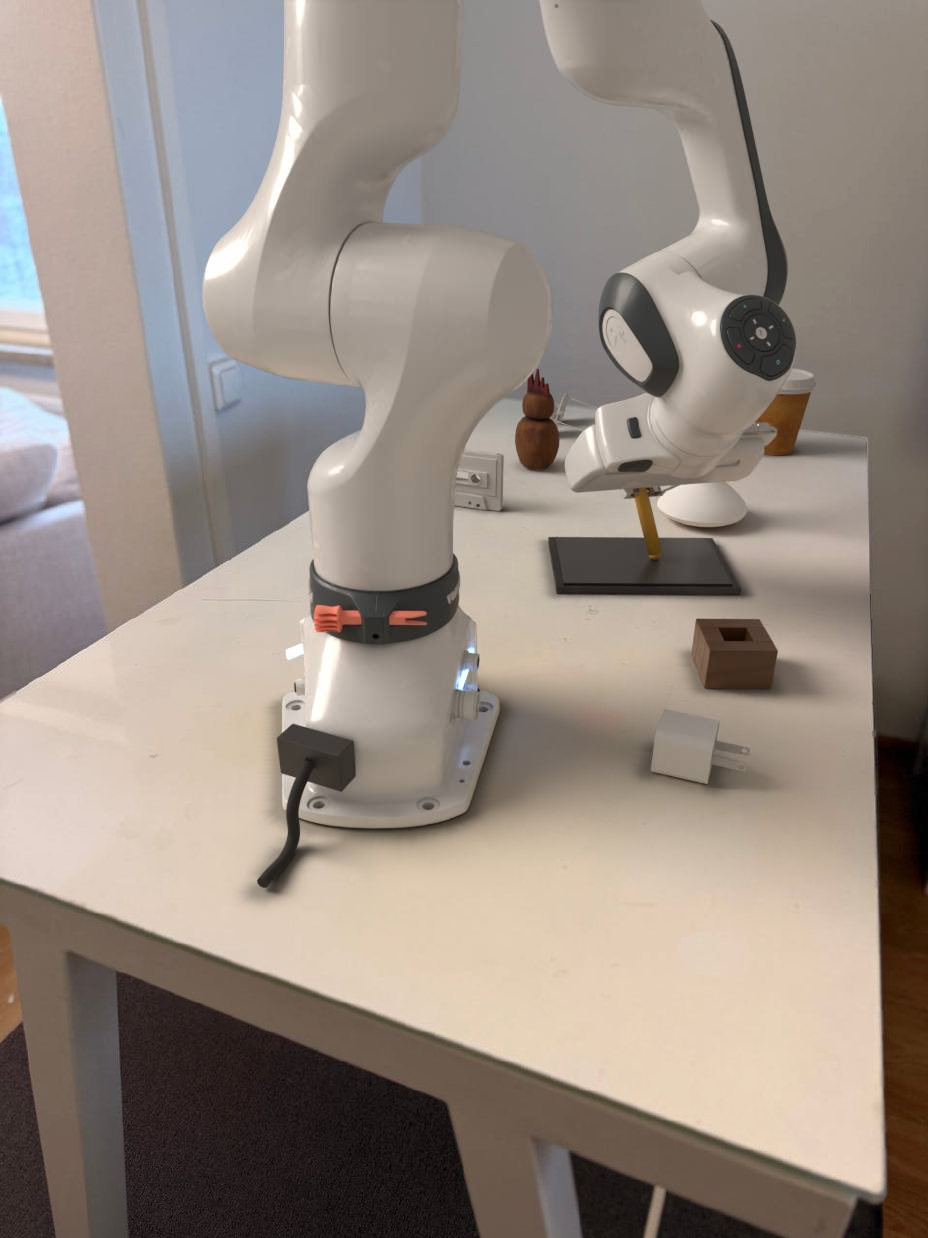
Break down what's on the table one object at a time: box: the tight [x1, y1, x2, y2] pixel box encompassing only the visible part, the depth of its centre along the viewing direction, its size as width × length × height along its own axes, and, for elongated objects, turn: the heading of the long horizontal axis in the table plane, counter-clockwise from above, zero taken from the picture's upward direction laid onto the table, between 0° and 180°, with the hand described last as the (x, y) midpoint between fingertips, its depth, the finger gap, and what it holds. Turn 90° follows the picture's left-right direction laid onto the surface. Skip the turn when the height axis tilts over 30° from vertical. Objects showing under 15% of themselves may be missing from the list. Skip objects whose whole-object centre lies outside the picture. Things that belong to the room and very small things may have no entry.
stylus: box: [633, 488, 662, 560], centre depth 102 cm, size 2×2×15 cm
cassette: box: [454, 448, 505, 512], centre depth 121 cm, size 12×2×8 cm, turn 68°
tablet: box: [547, 536, 742, 596], centre depth 104 cm, size 14×20×1 cm
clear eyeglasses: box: [550, 392, 599, 432], centre depth 152 cm, size 14×8×5 cm, turn 160°
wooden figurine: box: [514, 368, 561, 471], centre depth 133 cm, size 7×6×15 cm
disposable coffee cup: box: [755, 367, 817, 456], centre depth 141 cm, size 10×10×12 cm
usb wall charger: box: [650, 708, 751, 785], centre depth 70 cm, size 4×7×4 cm, turn 69°
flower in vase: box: [656, 482, 748, 528], centre depth 113 cm, size 13×11×25 cm
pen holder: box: [690, 618, 779, 690], centre depth 83 cm, size 6×6×4 cm
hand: (640, 491), depth 101 cm, fingers closed on stylus, 2 cm apart
